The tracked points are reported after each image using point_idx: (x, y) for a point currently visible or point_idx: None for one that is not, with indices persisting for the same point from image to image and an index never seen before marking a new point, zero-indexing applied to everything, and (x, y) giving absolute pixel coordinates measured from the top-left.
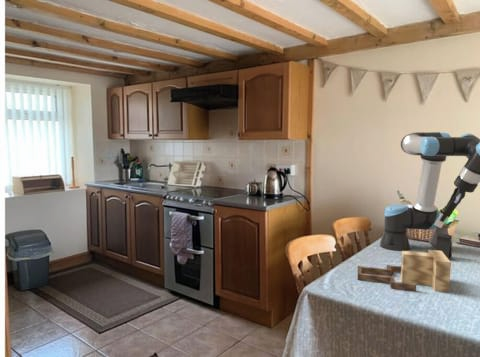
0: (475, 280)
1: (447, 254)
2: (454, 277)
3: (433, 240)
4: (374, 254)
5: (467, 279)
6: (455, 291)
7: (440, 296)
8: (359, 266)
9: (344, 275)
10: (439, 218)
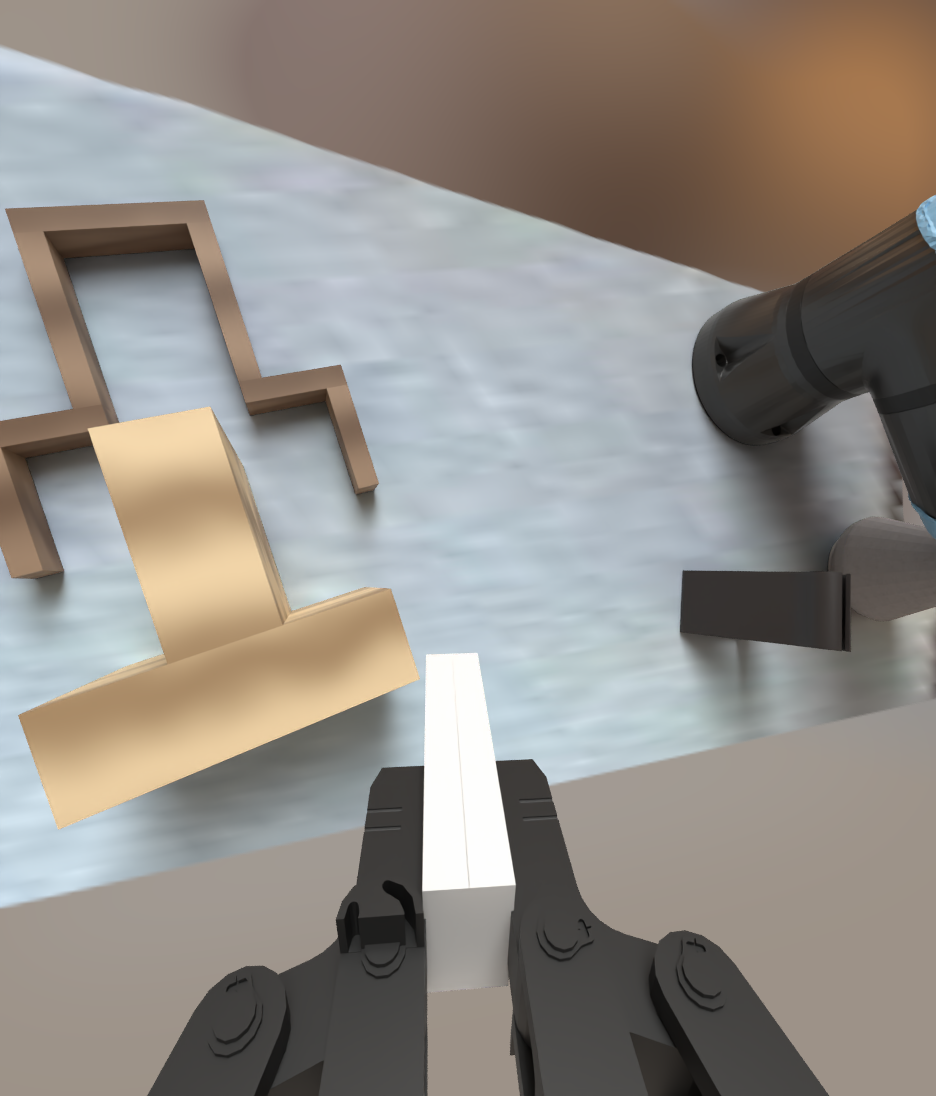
0: None
1: (712, 632)
2: None
3: (867, 538)
4: (575, 295)
5: None
6: None
7: None
8: (196, 211)
9: (69, 156)
10: (424, 764)
